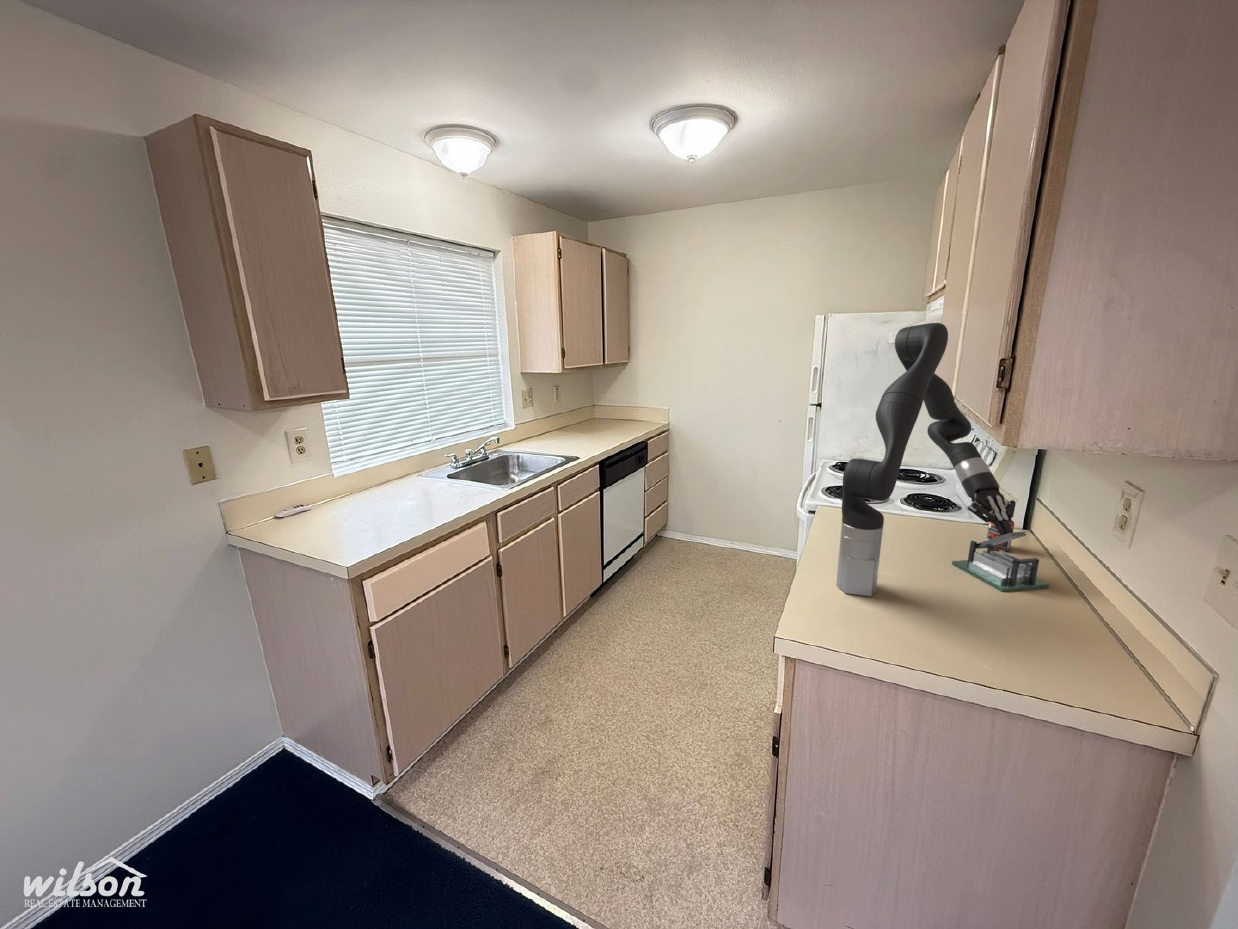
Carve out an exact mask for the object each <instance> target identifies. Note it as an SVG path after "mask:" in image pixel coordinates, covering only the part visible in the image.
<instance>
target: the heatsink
mask: <svg viewBox="0 0 1238 929" xmlns="http://www.w3.org/2000/svg"><path fill="white" fill-rule="evenodd" d="M977 543H978V541H976V540H970V543H969V544H970V545H969V550H968V551H969V552H968V556H967V559H965V560H963V559H962V560H952V562H951V565H952V566H954V567H956V568H957V569H959V570H961V571H963V570H964V571H963V572H964V573H966V572H967V574H968V573H969V575H970V576H972V577H974V578H976V579H977V578H978V580H979V579H980V581H981V582H983V583H985V584H987V585H988V584H989V587H993V589H996V590H998V591H1000V592H1001V593H1003V592H1014V591H1015V592H1016V591H1026V590H1027V589H1028V590H1036V589H1037V590H1038V589H1039V590H1040V589H1048V588H1049V586H1050V583H1047V582H1045V581H1043V580H1042V579H1039V578H1038V569H1039V566H1040V565H1039V564H1040V559H1038V558H1037V557H1032V558H1031V557H1029V558H1020V557H1017V556H1015V555H1013V554H1011V553H1008V552H1007V551H1002V550H999V551H996V550H994V546H991V547H990V548H986V551H982V553H980V552H978V551H977V549H976V546H977Z"/></svg>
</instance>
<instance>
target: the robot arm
mask: <svg viewBox="0 0 1238 929" xmlns="http://www.w3.org/2000/svg"><path fill="white" fill-rule="evenodd" d="M948 341H949V331H948V327H946V325H945V324H944V323H941V322H930V323H929V322H928V323H924V324H917V325H916V324H915V325H910V326H906V327H903V328H900V329H899V330H898V331H897V333H896V334H895V338H894V348H895V352H896V355H897V357H898V359H899V361H900V363H901V365H902V366H903V367H904V369H905V372H904V373H902V374H901V375H900V376H899V377H897V379H895V380H894V381H893V382H892V383H891V384H890V385H889V386H888V387H887V388H886V389H885V390H884V392H883V394H882V396H881V399H880V400H879V403H878V405H877V408H876V411H875V421H876V426H877V428H878V431H879V433H880V435H881V437H882V440H883V443H884V446H885V447H884V448H885V453H884V457H883V459H882V461H877V460H871V459H863V458H851V459H850V460H849V461H847V463H846V465H845V467H844V470H843V477H842V498H841V501H842V502H841V518H842V519H841V530H840V539H839V550H838V558H837V559H838V562H837V569H836V570H837V572H836V584H835V585H836V587H838V588H839V589H840V591H841V590H842V591H843V593H844V594H849V595H856V596H862V597H863V596H864V597H870V598H871V597H872V596H873V594H875V593H877V587H878V586H877V585H878V578H879V576H878V575H879V568H880V567H879V566H880V558H881V557H880V556H881V549H882V540H883V534H884V532H883V530H884V524H885V517H884V514H883V513H882V512H880V511H879V510H877V509H876V508H875V507H873V506H871V505H870V504H868V502H866V500H865V499H869V500H873V501H874V500H875V501H880V502H883V501H886V500H887V501H888V499H890V497H891V495H892V494H893V493H894V490H895V487H896V483H897V480H898V477H899V473H900V471H901V470H900V469H901V466H902V462H903V459H904V456H905V455H904V454H905V451H906V448H907V446H908V443H909V440H910V437H911V435H912V432H913V430H914V427H915V424H916V422H917V419H918V417H919V415H920V412H921V408H922V406H923V404H924V406H925V408H926V410H927V413H928V416H929V417H930V418H931V419H932V420H936V421H934V422H931V423H930V424H929V425H928V427H927V435H928V437H929V439H931V441H932V442H933V443H934V444H935V445H936V446H937V447H939V449H941V451H942V452H943V453H944V454H945V455H946V457H947V458H948V459H949V462H950V463H951V465H952V467H953V469H954V471H955V474H956V477H957V478H958V480H959V482H960V484H961V486H962V488H963V490H964V491H965V493H966V495H967V497H968V498H970V499H971V500H970V501H971V502H972V503H971V504H970V505H968V506H967V510H968V511H969V512H970V513H972V514H973V515H974V516H976V517H977V518H979V519H981V520H982V521H983V522H985V523H986V524H987V523H988V524H989V522H991V523H992V524H994V525H995V527H996V528H997V530H998V532H999V534H1000V535H1001V536H1002V535H1005V534H1008V533H1012V532H1014V530H1013V529H1012V528H1011V526H1010V524H1009V522H1008V520H1009V519H1010V518H1011V519H1013V518H1014V515H1015V509H1016V504H1017V502H1016V501H1015V500H1014V499H1013V500H1012V499H1011V500H1008V499H1006V498H1005V496H1004V495H1003V493H1001V492H1000V484H999V483H998V481H997V480H996V478H995V476H994V474H993V472H992V471H991V469H990V467H989V466H988V464H987V462H985V459H983V457H982V455H981V454H980V452H979V450H978V448H977V447H976V445H975V444H974V443H973V442H970V441H963V442H962V441H961V442H954V441H957V440H960V439H963V438H965V437H967V436H969V435H970V434H971V432H972V427H973V426H972V424H971V422H970V420H969V419H968V417H966V415H965V414H964V413H962V411H961V410H960V408H958V406H957V402H956V401H955V402H956V403H955V402H954V400H955V397H954V394H953V391H952V388H951V387H950V386H949V384H948V383H947V382H946V381H945V380H944V379H943V378H941V377H940V376H939V375H938V374H936V373H935V372H936V370H937V368H938V367H939V364H940V363H941V360H942V358H943V357H944V354H945V351H946V349H947V346H948ZM1000 515H1001V516H1000Z"/></svg>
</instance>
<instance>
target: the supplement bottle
mask: <svg viewBox="0 0 1238 929" xmlns="http://www.w3.org/2000/svg"><path fill="white" fill-rule="evenodd" d="M1000 516H1001V515H1000ZM1008 522H1009V524H1010V526H1011V528H1012V529H1013V531H1014V529H1015V521H1014V520H1013V518H1010V519H1009V520H1008ZM987 526H988V528H987V533H986V538H985V541H987V540H990V539H993V538H996V537H999V536H1001V535H1000V534H999V532H998V530H997V528H996V527H995V525H994V524H992V523H991V522H988V525H987ZM1011 546H1012V540H1010V541H1007V542H1004V543H1001V544H998V545H994V551H995V552H999V550H1002V551H1004V552H1008V551H1010V550H1011Z"/></svg>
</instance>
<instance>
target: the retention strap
mask: <svg viewBox="0 0 1238 929" xmlns="http://www.w3.org/2000/svg"><path fill="white" fill-rule="evenodd" d="M1026 536H1027V534H1026V531H1015V532H1014V531H1013V532H1012V533H1008V534H1005V535H1002V536H999V537H996V538H993V539H990V540H987V541H986V540H983V541H981V542H977V546H976V550H977V549H978V550H979V549H987V548H990V547H991V546H994V545H998V544H1001V543H1004V542H1007V541H1010V540H1011V541H1013V540H1017V539H1019V538H1020V539H1021V538H1023V537H1026Z"/></svg>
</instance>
